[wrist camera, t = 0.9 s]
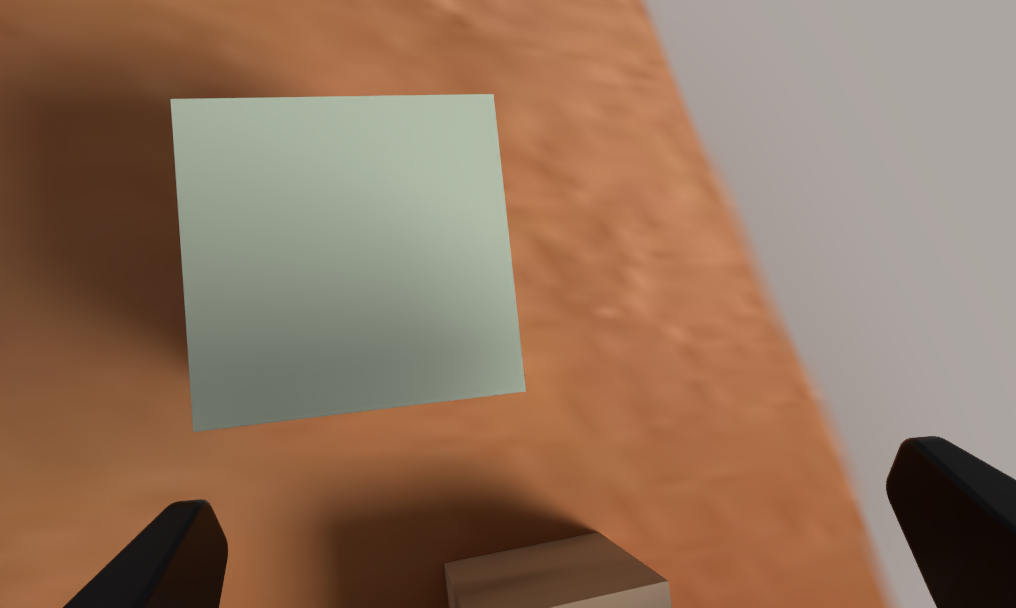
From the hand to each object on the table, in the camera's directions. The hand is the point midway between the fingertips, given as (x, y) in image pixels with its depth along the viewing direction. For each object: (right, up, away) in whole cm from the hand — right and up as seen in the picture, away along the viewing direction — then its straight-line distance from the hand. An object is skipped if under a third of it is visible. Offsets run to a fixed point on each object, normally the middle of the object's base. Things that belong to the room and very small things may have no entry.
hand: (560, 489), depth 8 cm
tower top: (-4, +3, +8) cm, 9 cm away
